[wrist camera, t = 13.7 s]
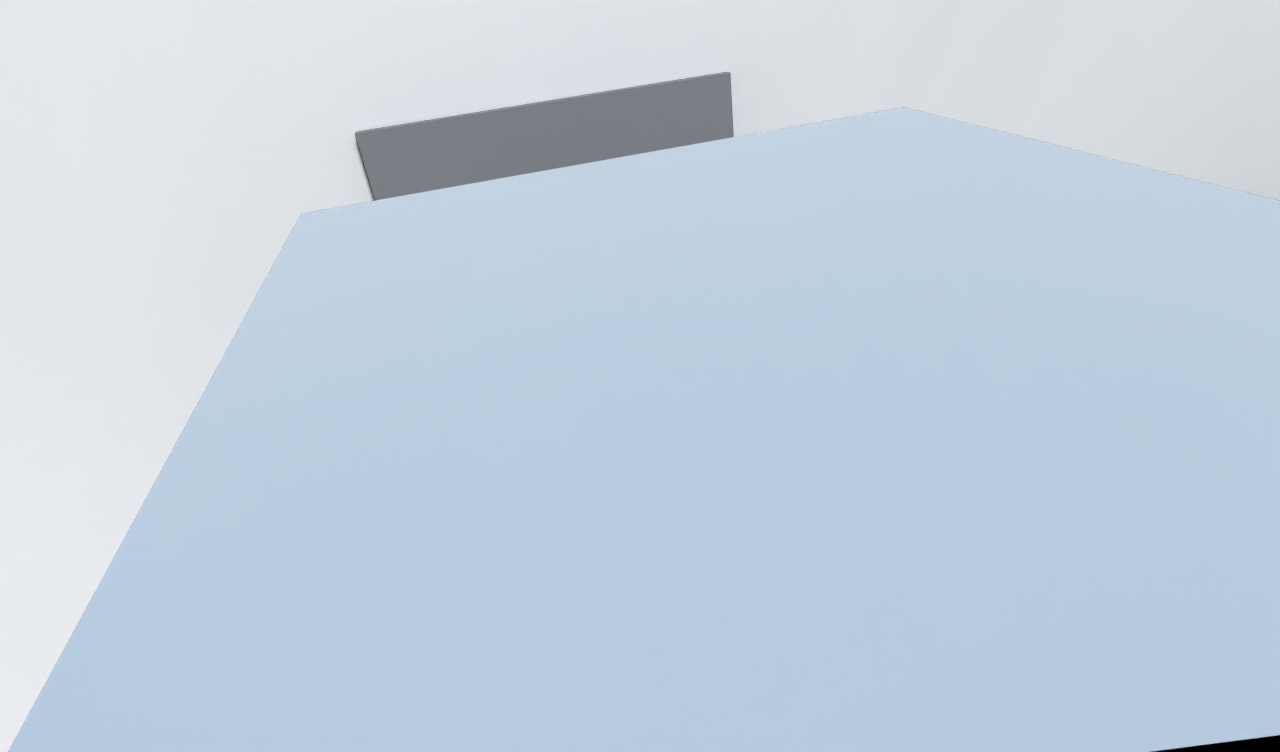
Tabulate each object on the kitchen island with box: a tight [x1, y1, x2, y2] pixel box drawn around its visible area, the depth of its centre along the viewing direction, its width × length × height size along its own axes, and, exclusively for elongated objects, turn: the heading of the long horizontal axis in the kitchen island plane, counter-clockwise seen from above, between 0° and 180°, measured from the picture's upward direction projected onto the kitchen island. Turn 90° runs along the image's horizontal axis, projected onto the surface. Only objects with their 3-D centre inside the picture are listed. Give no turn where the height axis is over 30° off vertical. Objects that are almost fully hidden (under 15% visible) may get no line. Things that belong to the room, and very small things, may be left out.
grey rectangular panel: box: [355, 72, 733, 200], centre depth 16 cm, size 7×12×1 cm, turn 7°
